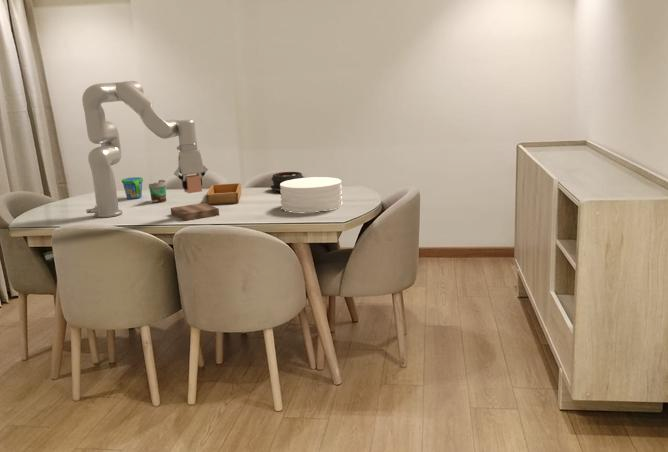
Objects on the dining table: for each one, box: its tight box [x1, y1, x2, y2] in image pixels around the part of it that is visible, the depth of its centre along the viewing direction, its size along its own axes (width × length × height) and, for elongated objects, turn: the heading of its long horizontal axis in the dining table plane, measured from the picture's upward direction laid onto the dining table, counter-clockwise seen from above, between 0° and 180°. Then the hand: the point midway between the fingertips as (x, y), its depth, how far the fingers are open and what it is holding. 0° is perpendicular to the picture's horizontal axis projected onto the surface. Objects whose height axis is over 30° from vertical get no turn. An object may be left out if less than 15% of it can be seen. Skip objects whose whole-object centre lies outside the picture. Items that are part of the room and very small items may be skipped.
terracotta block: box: [183, 174, 203, 194], centre depth 310 cm, size 6×6×7 cm
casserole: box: [270, 171, 305, 192], centre depth 364 cm, size 25×19×8 cm
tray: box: [205, 182, 242, 206], centre depth 348 cm, size 31×15×6 cm, turn 5°
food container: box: [148, 179, 168, 204], centre depth 348 cm, size 12×6×10 cm, turn 168°
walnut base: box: [170, 202, 220, 221], centre depth 313 cm, size 16×18×3 cm
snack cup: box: [121, 176, 144, 200], centre depth 362 cm, size 16×10×10 cm
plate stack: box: [279, 176, 344, 212], centre depth 317 cm, size 28×28×12 cm
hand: (192, 187), depth 310 cm, fingers closed on terracotta block, 6 cm apart
